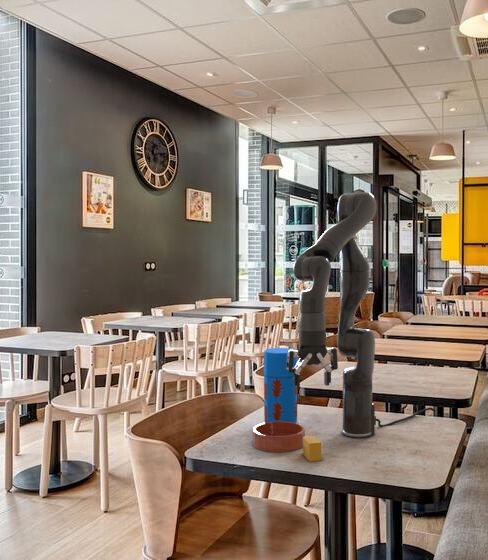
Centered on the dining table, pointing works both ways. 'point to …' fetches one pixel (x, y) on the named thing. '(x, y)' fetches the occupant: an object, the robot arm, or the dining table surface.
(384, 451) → the dining table surface
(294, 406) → the thermos
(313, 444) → the sponge
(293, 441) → the bowl
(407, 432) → the dining table surface
